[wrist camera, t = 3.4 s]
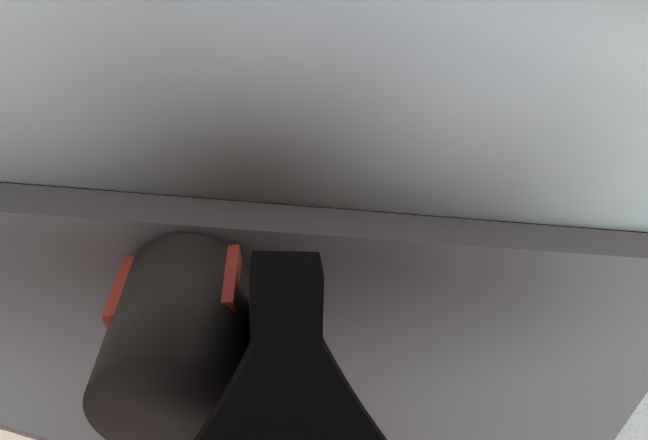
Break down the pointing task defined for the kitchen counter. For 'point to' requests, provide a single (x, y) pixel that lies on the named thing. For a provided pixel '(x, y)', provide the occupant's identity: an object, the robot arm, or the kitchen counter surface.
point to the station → (350, 310)
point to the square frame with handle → (169, 339)
